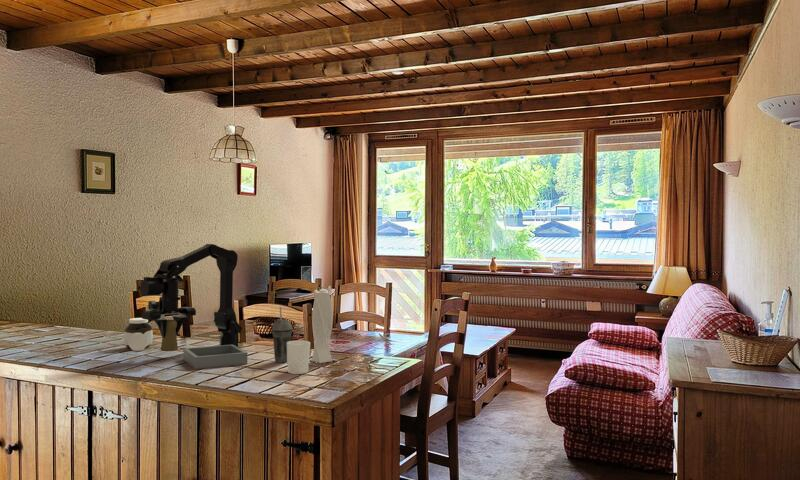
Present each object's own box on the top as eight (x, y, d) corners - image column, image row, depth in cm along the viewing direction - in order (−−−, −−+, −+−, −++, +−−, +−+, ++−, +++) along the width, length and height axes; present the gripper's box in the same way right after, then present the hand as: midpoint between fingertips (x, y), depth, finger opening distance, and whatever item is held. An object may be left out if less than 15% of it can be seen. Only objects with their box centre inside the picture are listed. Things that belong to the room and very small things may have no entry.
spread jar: (143, 345, 237) (143, 316, 237) (161, 348, 231) (161, 319, 231) (116, 349, 227) (116, 320, 227) (133, 352, 221) (134, 322, 221)
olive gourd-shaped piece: (181, 348, 215) (181, 319, 215) (173, 351, 209) (173, 321, 209) (165, 347, 216) (166, 318, 216) (157, 351, 210) (157, 320, 210)
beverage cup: (295, 360, 211) (296, 306, 211) (283, 364, 205) (284, 308, 205) (279, 358, 214) (280, 305, 214) (267, 362, 208) (268, 307, 208)
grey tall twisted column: (338, 362, 210) (339, 285, 210) (320, 365, 205) (321, 286, 205) (324, 358, 216) (325, 284, 216) (306, 361, 211) (307, 285, 211)
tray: (232, 354, 220) (232, 344, 220) (247, 363, 205) (247, 352, 205) (183, 359, 210) (183, 348, 210) (194, 369, 195) (195, 357, 195)
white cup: (298, 375, 188) (299, 345, 188) (281, 372, 193) (281, 342, 193) (314, 371, 195) (315, 342, 195) (297, 368, 199) (297, 339, 199)
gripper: (179, 291, 225) (179, 331, 225) (134, 294, 210) (133, 337, 210) (197, 293, 218) (196, 334, 218) (151, 296, 203) (150, 341, 203)
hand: (169, 336), depth 213 cm, fingers closed on olive gourd-shaped piece, 4 cm apart
